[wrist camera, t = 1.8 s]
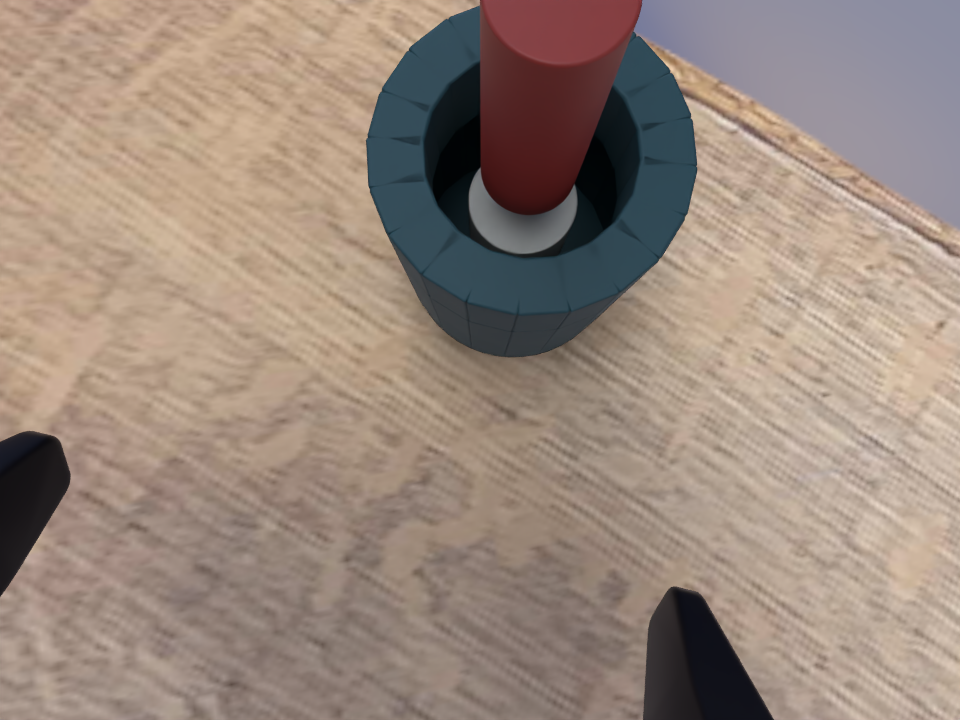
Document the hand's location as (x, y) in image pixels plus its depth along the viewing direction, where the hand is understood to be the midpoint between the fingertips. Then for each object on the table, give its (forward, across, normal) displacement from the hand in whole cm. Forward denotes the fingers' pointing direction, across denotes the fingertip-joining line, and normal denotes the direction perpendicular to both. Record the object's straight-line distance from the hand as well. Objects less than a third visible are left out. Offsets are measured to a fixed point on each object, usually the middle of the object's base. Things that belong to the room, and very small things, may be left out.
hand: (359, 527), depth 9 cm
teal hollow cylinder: (+15, -1, +3) cm, 16 cm away
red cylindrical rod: (+14, -1, +2) cm, 15 cm away
